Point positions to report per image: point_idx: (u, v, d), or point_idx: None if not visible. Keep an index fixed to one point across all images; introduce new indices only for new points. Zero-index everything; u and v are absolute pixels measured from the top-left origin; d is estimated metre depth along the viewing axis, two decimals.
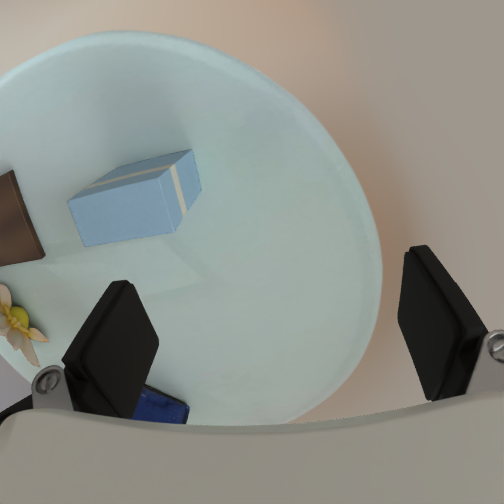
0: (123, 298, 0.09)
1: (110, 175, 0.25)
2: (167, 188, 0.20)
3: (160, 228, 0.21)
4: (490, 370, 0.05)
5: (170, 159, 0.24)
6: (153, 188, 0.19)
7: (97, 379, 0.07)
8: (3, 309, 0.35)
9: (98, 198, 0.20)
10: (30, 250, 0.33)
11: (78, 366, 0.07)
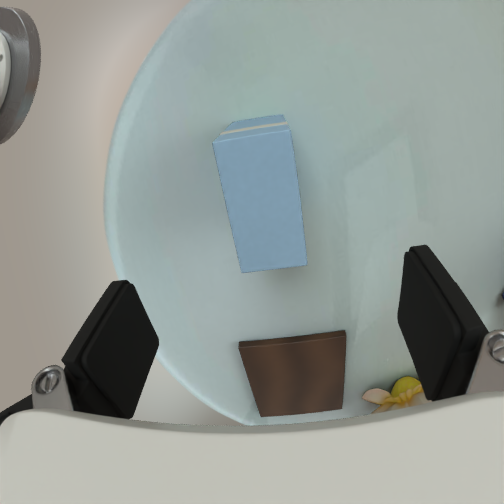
0: (123, 298, 0.09)
1: None
2: (235, 135, 0.16)
3: (283, 148, 0.15)
4: (490, 370, 0.05)
5: None
6: (226, 150, 0.15)
7: (97, 379, 0.07)
8: (388, 403, 0.35)
9: (239, 228, 0.17)
10: (333, 347, 0.33)
11: (78, 366, 0.07)
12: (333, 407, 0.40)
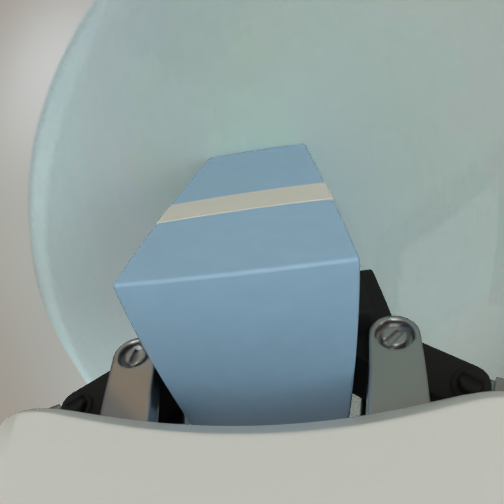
0: None
1: None
2: (182, 249, 0.06)
3: (330, 310, 0.05)
4: (387, 360, 0.06)
5: None
6: (154, 309, 0.05)
7: None
8: None
9: None
10: None
11: None
12: None
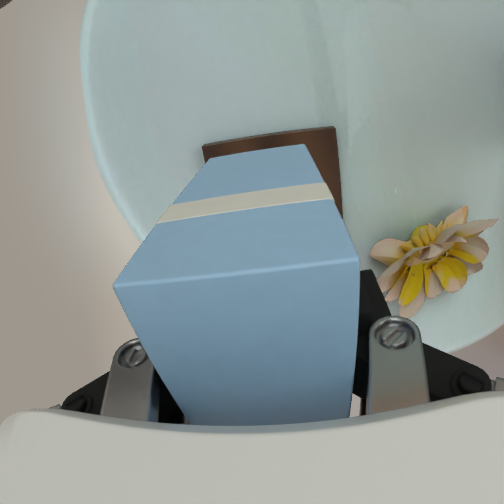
0: None
1: None
2: (182, 249, 0.06)
3: (330, 311, 0.05)
4: (387, 360, 0.06)
5: None
6: (154, 309, 0.05)
7: None
8: None
9: None
10: (320, 145, 0.26)
11: None
12: None
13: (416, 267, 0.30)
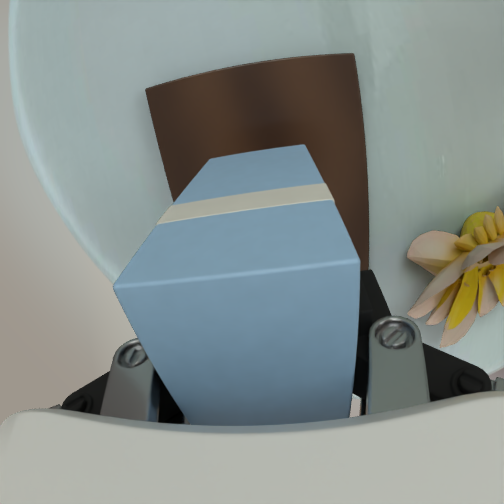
0: None
1: None
2: (183, 250, 0.06)
3: (330, 312, 0.05)
4: (387, 360, 0.06)
5: None
6: (154, 310, 0.05)
7: None
8: (461, 255, 0.17)
9: None
10: (332, 80, 0.15)
11: None
12: None
13: (470, 273, 0.18)
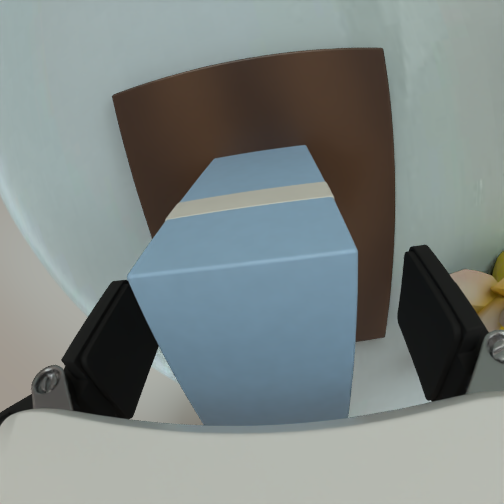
0: (123, 298, 0.09)
1: None
2: (193, 243, 0.06)
3: (331, 299, 0.05)
4: (490, 370, 0.05)
5: None
6: (166, 298, 0.05)
7: (97, 379, 0.07)
8: (497, 300, 0.13)
9: (216, 423, 0.08)
10: (355, 82, 0.11)
11: (78, 366, 0.07)
12: (366, 331, 0.17)
13: None
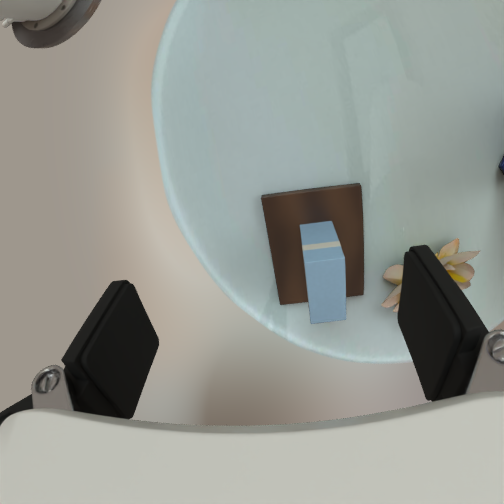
0: (123, 298, 0.09)
1: None
2: (314, 256, 0.31)
3: (340, 266, 0.30)
4: (490, 370, 0.05)
5: None
6: (311, 266, 0.30)
7: (97, 379, 0.07)
8: None
9: (312, 302, 0.32)
10: (349, 198, 0.36)
11: (78, 366, 0.07)
12: (354, 291, 0.42)
13: None
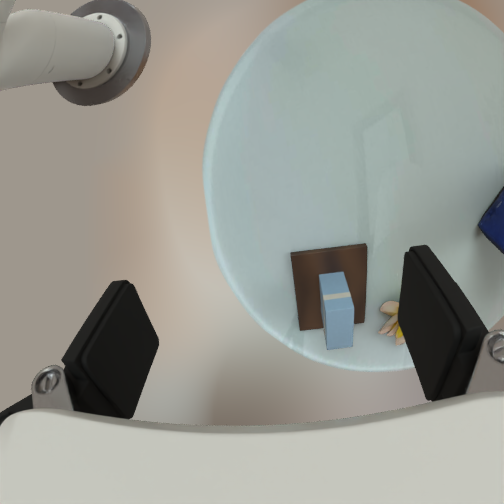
0: (123, 298, 0.09)
1: None
2: (332, 305, 0.42)
3: (350, 313, 0.41)
4: (490, 370, 0.05)
5: (321, 291, 0.47)
6: (330, 313, 0.41)
7: (97, 379, 0.07)
8: None
9: (329, 336, 0.44)
10: (358, 256, 0.47)
11: (78, 366, 0.07)
12: (357, 320, 0.53)
13: None
